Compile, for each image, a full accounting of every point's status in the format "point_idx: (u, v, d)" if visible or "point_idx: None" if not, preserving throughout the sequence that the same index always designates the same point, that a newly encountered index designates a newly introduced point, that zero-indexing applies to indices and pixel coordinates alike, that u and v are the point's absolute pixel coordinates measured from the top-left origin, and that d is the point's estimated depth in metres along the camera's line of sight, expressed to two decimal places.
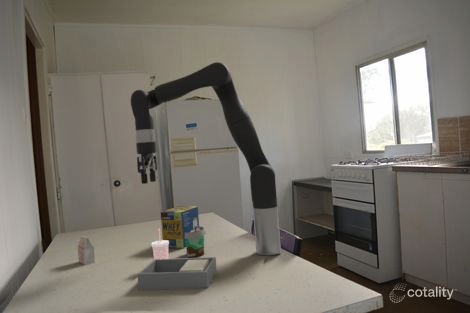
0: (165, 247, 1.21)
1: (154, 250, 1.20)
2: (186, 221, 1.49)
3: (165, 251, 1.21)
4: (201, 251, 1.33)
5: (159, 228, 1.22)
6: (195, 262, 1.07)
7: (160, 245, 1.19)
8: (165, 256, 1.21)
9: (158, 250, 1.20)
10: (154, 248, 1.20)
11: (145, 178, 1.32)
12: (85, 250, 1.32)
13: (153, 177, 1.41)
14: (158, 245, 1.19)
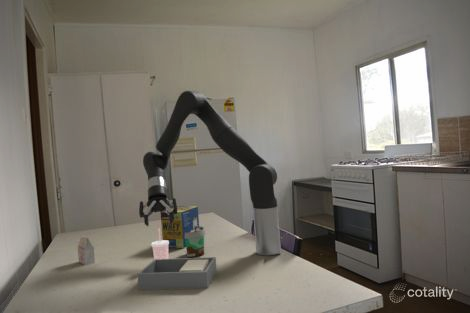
0: (165, 247, 1.21)
1: (154, 250, 1.20)
2: (186, 221, 1.49)
3: (165, 251, 1.21)
4: (201, 251, 1.33)
5: (159, 228, 1.22)
6: (195, 262, 1.07)
7: (160, 245, 1.19)
8: (165, 256, 1.21)
9: (158, 250, 1.20)
10: (154, 248, 1.20)
11: (145, 219, 1.29)
12: (85, 250, 1.32)
13: None
14: (158, 245, 1.19)
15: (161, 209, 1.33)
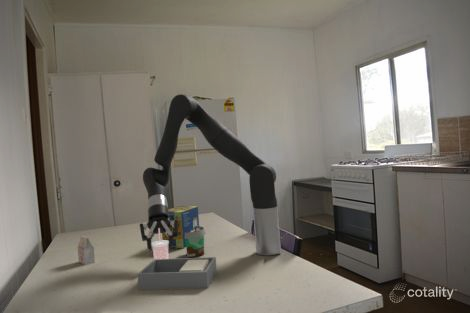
0: (165, 247, 1.21)
1: (154, 250, 1.20)
2: (186, 221, 1.49)
3: (165, 251, 1.21)
4: (201, 251, 1.33)
5: (159, 228, 1.22)
6: (195, 262, 1.07)
7: (160, 245, 1.19)
8: (165, 256, 1.21)
9: (158, 250, 1.20)
10: (154, 248, 1.20)
11: (148, 243, 1.21)
12: (85, 250, 1.32)
13: None
14: (158, 245, 1.19)
15: (161, 230, 1.25)
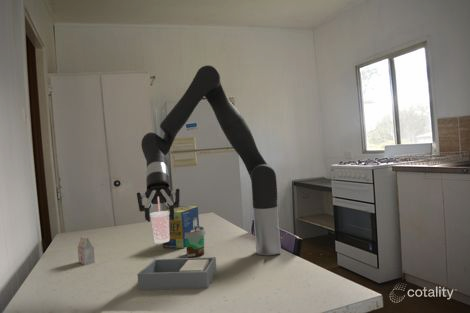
0: (165, 218, 1.06)
1: (153, 221, 1.06)
2: (186, 221, 1.49)
3: (165, 222, 1.06)
4: (201, 251, 1.33)
5: (158, 197, 1.08)
6: (195, 262, 1.07)
7: (159, 215, 1.05)
8: (165, 228, 1.06)
9: (158, 221, 1.05)
10: (153, 219, 1.06)
11: (146, 213, 1.06)
12: (85, 250, 1.32)
13: None
14: (157, 215, 1.05)
15: (161, 200, 1.11)
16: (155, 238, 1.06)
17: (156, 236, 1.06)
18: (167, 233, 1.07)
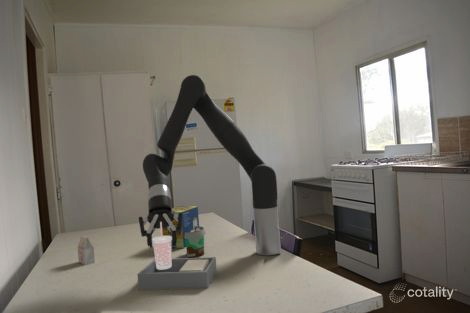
0: (168, 244, 1.05)
1: (155, 247, 1.05)
2: (186, 221, 1.49)
3: (168, 248, 1.05)
4: (201, 251, 1.33)
5: (161, 222, 1.06)
6: (195, 262, 1.07)
7: (162, 241, 1.04)
8: (168, 254, 1.05)
9: (160, 247, 1.04)
10: (155, 245, 1.04)
11: (148, 239, 1.05)
12: (85, 250, 1.32)
13: (172, 238, 1.06)
14: (160, 241, 1.04)
15: (163, 225, 1.09)
16: (157, 264, 1.05)
17: (158, 262, 1.04)
18: (169, 259, 1.06)
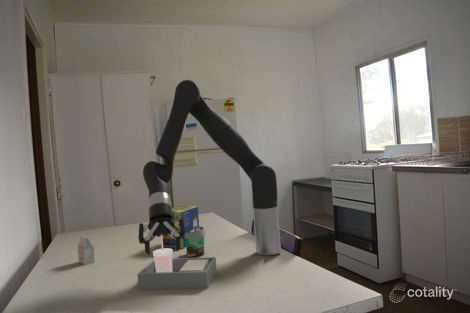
0: (168, 257, 1.05)
1: (156, 260, 1.05)
2: (186, 221, 1.49)
3: (168, 261, 1.05)
4: (201, 251, 1.33)
5: (161, 235, 1.06)
6: (195, 262, 1.07)
7: (163, 255, 1.04)
8: (168, 267, 1.05)
9: (161, 260, 1.04)
10: (156, 258, 1.05)
11: (146, 246, 1.05)
12: (85, 250, 1.32)
13: None
14: (160, 255, 1.04)
15: (165, 233, 1.09)
16: None
17: None
18: None
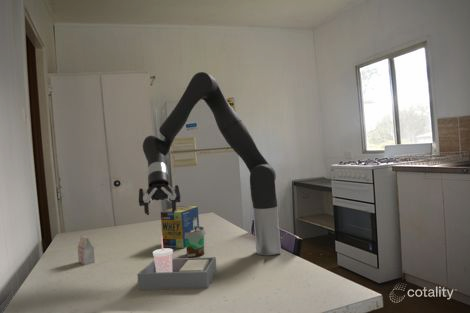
0: (168, 257, 1.05)
1: (156, 260, 1.05)
2: (186, 221, 1.49)
3: (168, 261, 1.05)
4: (201, 251, 1.33)
5: None
6: (195, 262, 1.07)
7: (163, 255, 1.04)
8: (168, 267, 1.05)
9: (161, 260, 1.04)
10: (156, 258, 1.05)
11: (145, 208, 1.18)
12: (85, 250, 1.32)
13: (172, 206, 1.19)
14: (160, 255, 1.04)
15: (163, 197, 1.22)
16: None
17: None
18: None
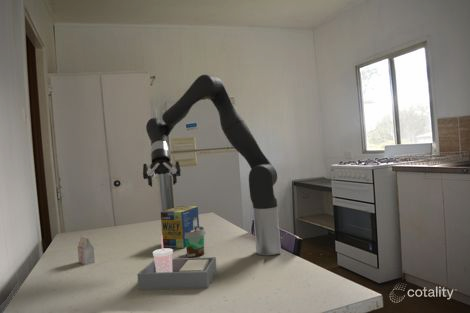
0: (168, 257, 1.05)
1: (156, 260, 1.05)
2: (186, 221, 1.49)
3: (168, 261, 1.05)
4: (201, 251, 1.33)
5: None
6: (195, 262, 1.07)
7: (163, 254, 1.04)
8: (168, 267, 1.05)
9: (161, 260, 1.04)
10: (156, 258, 1.05)
11: (149, 180, 1.31)
12: (85, 250, 1.32)
13: None
14: (160, 254, 1.04)
15: (164, 171, 1.35)
16: None
17: None
18: None
